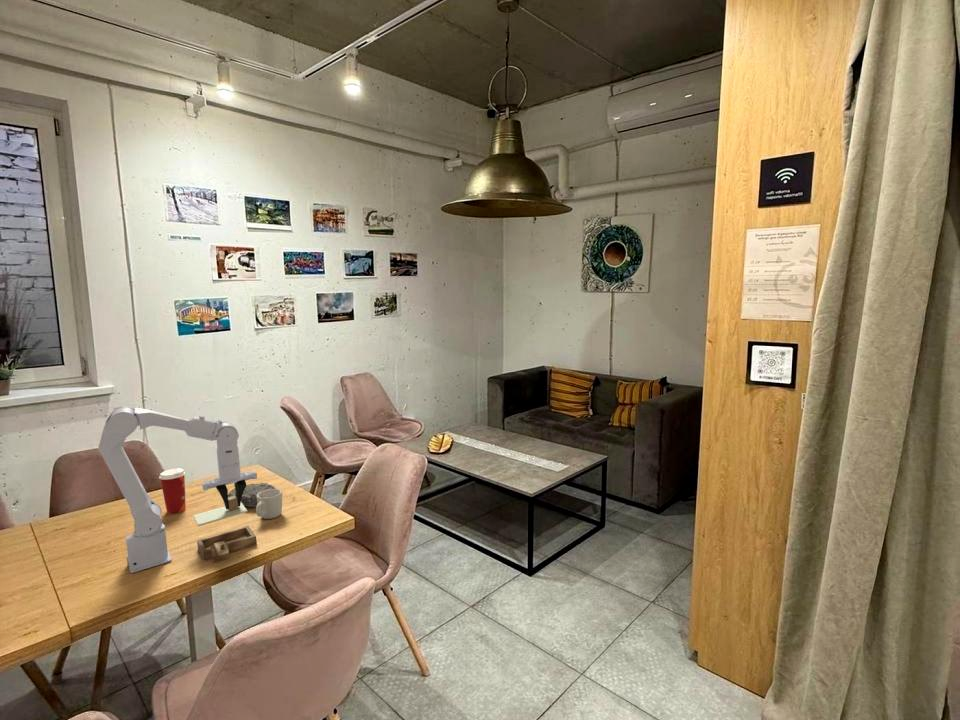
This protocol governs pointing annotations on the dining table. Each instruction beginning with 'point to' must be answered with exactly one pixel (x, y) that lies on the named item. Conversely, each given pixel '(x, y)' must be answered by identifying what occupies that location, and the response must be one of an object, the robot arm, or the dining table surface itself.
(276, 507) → the cup
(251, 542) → the wooden tray
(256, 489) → the rock
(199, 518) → the lid
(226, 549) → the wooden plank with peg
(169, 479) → the paper cup
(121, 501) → the dining table surface
